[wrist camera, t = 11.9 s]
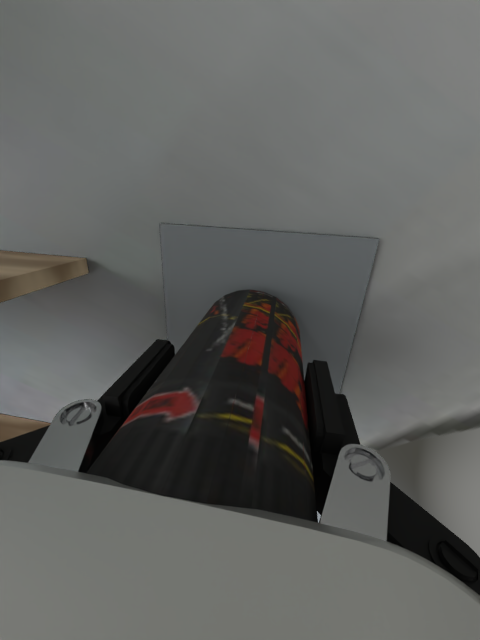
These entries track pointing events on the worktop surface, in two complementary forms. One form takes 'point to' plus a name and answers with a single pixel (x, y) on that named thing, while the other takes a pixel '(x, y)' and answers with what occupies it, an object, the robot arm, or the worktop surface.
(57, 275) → the cover
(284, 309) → the deodorant
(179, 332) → the mat
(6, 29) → the worktop surface
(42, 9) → the worktop surface
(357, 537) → the robot arm
